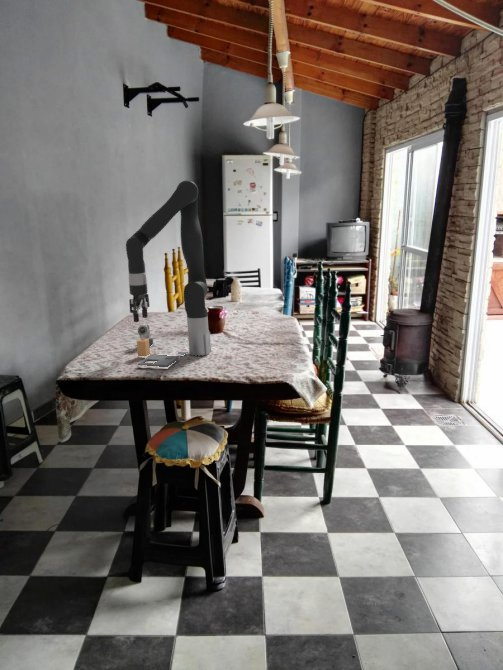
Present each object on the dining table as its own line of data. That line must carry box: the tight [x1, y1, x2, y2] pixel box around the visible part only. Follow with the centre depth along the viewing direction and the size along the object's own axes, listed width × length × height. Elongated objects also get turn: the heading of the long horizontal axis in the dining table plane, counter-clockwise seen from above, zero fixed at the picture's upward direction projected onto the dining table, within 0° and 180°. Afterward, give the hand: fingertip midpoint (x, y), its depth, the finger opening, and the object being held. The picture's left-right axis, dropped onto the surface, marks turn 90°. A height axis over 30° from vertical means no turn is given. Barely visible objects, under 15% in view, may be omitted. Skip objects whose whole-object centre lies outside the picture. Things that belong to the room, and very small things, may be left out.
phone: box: [177, 351, 189, 355], centre depth 234 cm, size 6×13×1 cm, turn 76°
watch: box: [137, 323, 154, 346], centre depth 247 cm, size 6×8×11 cm
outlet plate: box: [137, 354, 180, 367], centre depth 220 cm, size 13×13×2 cm
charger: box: [136, 338, 151, 357], centre depth 230 cm, size 4×4×8 cm
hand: (140, 319), depth 227 cm, fingers open, 8 cm apart
